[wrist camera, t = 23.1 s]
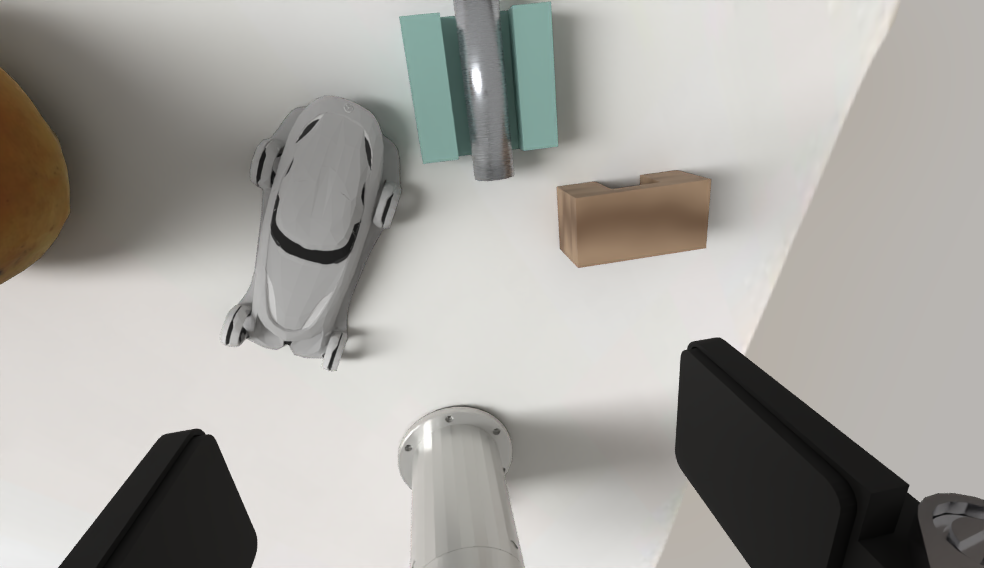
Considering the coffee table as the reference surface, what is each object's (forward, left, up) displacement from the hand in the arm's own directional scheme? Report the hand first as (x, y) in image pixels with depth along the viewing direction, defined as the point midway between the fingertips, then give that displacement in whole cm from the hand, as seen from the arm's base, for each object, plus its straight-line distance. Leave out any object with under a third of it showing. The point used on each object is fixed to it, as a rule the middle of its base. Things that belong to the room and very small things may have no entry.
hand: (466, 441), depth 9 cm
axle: (+7, -5, -31) cm, 33 cm away
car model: (-4, +11, -34) cm, 36 cm away
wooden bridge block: (-5, -17, -33) cm, 38 cm away
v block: (+7, -5, -33) cm, 34 cm away
